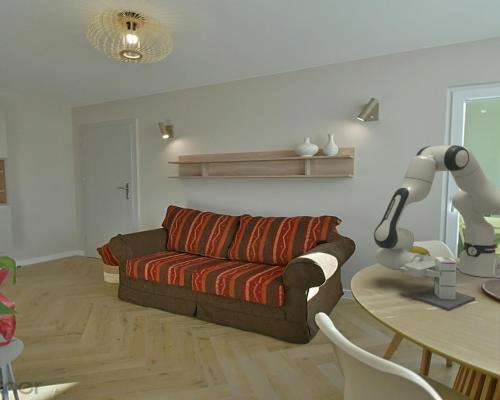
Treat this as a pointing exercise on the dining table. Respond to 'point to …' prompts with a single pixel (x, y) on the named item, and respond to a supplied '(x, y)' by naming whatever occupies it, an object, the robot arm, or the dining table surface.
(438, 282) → the syrup box
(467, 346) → the dining table surface
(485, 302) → the dining table surface
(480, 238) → the robot arm
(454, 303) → the placemat
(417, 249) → the fruit
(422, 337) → the dining table surface
